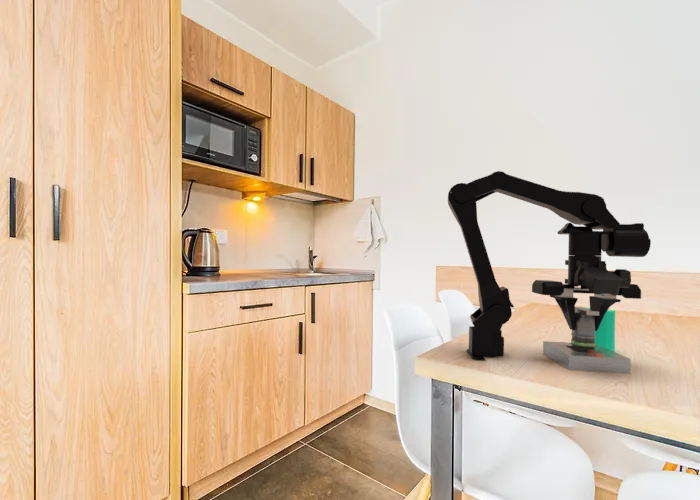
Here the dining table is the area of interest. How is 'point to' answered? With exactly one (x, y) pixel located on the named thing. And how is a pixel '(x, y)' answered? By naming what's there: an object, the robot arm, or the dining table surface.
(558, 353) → the flat box
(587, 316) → the column
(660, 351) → the dining table surface
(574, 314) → the robot arm
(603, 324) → the candle
